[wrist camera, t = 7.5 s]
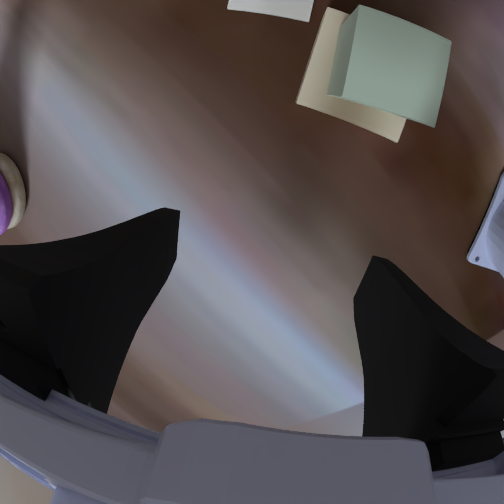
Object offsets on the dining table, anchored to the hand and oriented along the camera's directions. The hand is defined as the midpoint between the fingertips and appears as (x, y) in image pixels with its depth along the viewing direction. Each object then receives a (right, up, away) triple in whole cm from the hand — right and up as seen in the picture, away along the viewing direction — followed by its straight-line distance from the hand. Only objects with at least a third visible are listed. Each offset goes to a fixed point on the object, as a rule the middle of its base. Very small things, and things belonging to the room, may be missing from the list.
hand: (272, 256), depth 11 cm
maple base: (+6, +11, +5) cm, 13 cm away
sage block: (+5, +10, +2) cm, 11 cm away
